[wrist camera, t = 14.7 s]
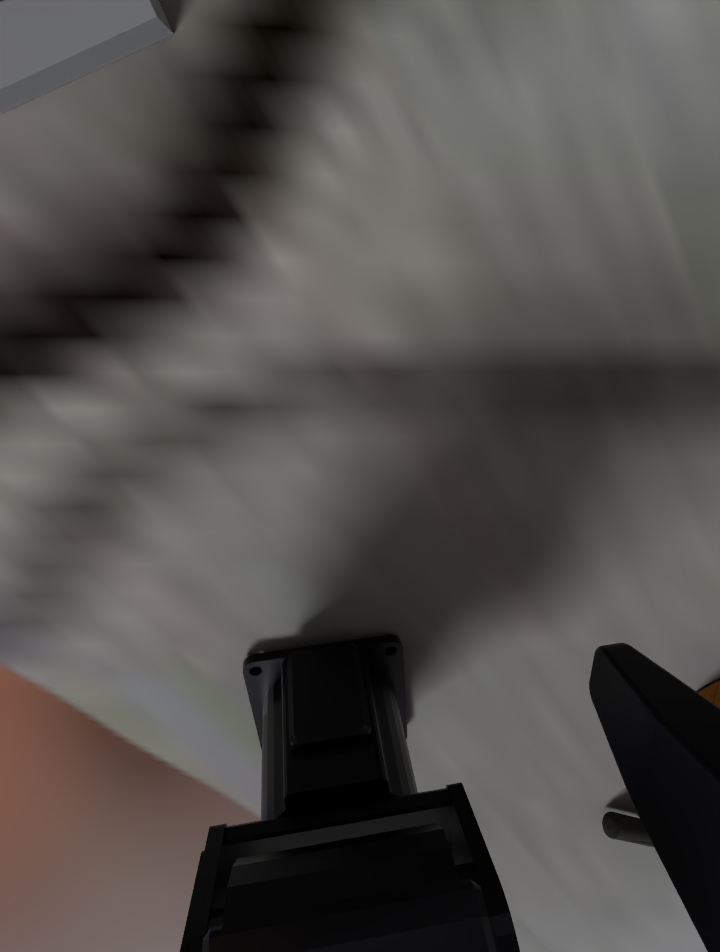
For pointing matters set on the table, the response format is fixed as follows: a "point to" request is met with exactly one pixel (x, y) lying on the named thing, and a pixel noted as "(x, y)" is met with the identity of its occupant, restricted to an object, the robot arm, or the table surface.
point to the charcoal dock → (69, 41)
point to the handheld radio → (625, 828)
